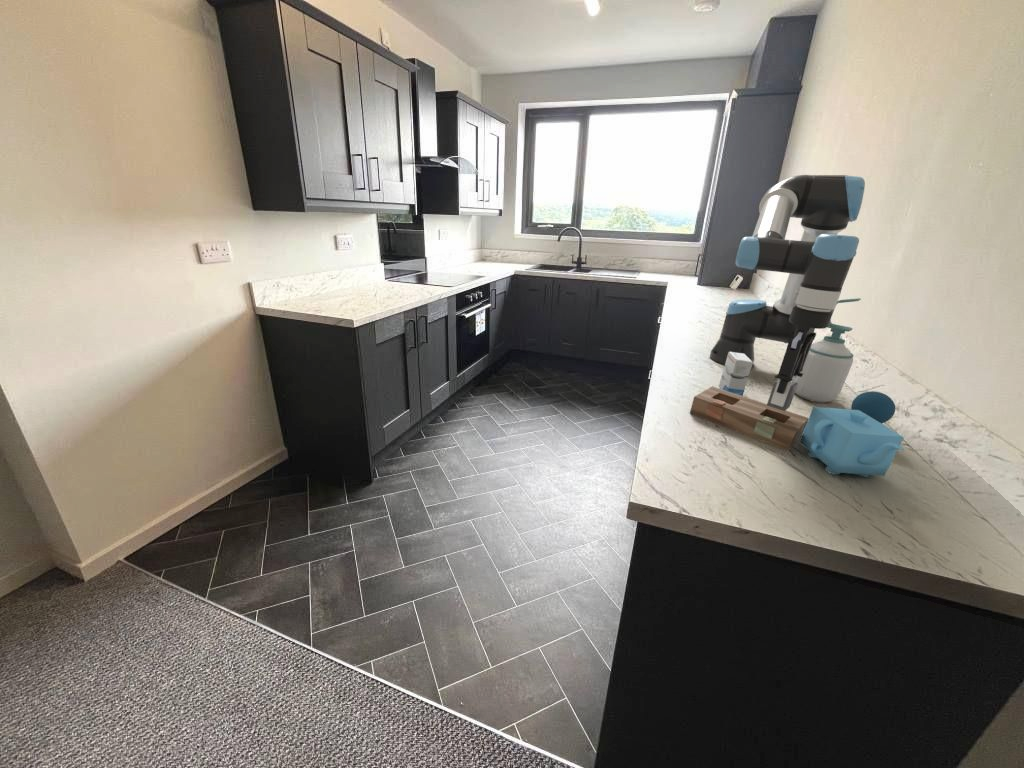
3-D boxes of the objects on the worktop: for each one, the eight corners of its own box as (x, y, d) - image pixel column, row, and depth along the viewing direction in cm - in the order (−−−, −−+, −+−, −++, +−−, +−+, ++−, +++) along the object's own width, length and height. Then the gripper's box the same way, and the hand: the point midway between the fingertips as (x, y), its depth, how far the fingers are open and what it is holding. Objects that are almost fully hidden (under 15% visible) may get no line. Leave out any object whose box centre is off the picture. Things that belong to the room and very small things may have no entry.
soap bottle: (830, 409, 121) (873, 304, 109) (783, 394, 129) (819, 295, 117) (840, 399, 129) (882, 299, 117) (796, 385, 137) (830, 291, 125)
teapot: (786, 447, 98) (805, 398, 93) (851, 451, 98) (873, 403, 93) (839, 495, 82) (865, 439, 77) (917, 500, 82) (948, 445, 77)
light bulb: (843, 423, 112) (861, 383, 108) (882, 436, 107) (902, 394, 102) (838, 433, 107) (856, 391, 102) (878, 446, 102) (900, 403, 97)
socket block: (708, 401, 120) (712, 385, 118) (802, 435, 104) (809, 417, 102) (689, 413, 112) (693, 395, 110) (787, 451, 96) (795, 432, 94)
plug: (771, 401, 104) (781, 371, 101) (789, 406, 101) (800, 376, 98) (766, 405, 101) (776, 375, 98) (784, 411, 99) (795, 380, 96)
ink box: (742, 398, 124) (754, 361, 120) (725, 396, 125) (736, 359, 120) (734, 387, 132) (744, 353, 127) (718, 385, 133) (728, 351, 128)
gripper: (804, 301, 100) (773, 388, 109) (783, 308, 89) (751, 405, 98) (841, 307, 95) (806, 398, 104) (824, 315, 84) (786, 417, 93)
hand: (779, 401), depth 101 cm, fingers closed on plug, 4 cm apart
